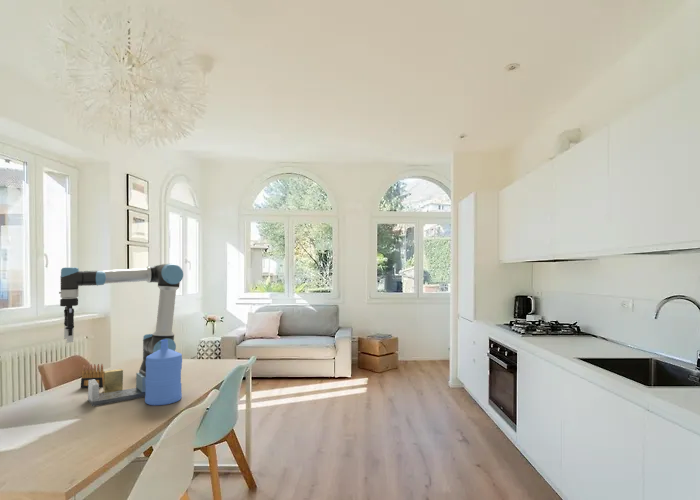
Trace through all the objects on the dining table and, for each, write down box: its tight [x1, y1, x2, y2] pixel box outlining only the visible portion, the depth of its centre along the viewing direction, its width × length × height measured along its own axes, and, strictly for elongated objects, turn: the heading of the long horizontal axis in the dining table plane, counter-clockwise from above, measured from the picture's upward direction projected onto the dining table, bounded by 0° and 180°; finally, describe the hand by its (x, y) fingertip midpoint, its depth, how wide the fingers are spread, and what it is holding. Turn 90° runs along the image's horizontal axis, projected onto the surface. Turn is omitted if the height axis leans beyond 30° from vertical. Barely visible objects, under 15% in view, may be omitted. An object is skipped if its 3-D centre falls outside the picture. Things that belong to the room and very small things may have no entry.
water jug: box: [144, 340, 183, 406], centre depth 194 cm, size 16×16×28 cm
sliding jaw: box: [135, 369, 146, 392], centre depth 205 cm, size 4×12×8 cm, turn 40°
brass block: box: [102, 368, 124, 393], centre depth 210 cm, size 8×4×10 cm, turn 129°
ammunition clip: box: [80, 363, 104, 389], centre depth 217 cm, size 11×2×12 cm, turn 98°
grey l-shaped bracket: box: [87, 379, 145, 407], centre depth 199 cm, size 26×12×9 cm, turn 129°
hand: (68, 340), depth 208 cm, fingers open, 13 cm apart
